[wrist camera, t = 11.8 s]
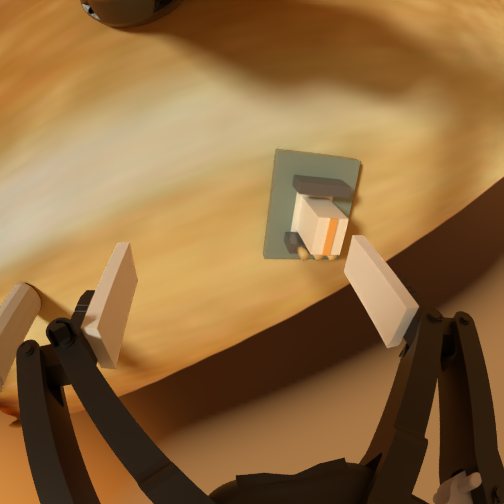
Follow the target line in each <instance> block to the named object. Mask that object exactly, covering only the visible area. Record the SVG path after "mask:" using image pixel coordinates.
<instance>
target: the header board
mask: <svg viewBox="0 0 504 504" xmlns="http://www.w3.org/2000/svg"><path fill="white" fill-rule="evenodd" d="M360 162H361V161H359V160H357V159H353V158H347V157H340V156H333V155H325V154H318V153H309V152H301V151H291V150H281V149H276V151H275V159H274V168H273V176H272V184H271V193H270V201H269V209H268V217H267V225H266V233H265V241H264V249H263V256H264V259H301V260H303V261H305V260H307V259H315V260H317V261H319V260H321V259H329V260H330V261H333V260H335V259H338V257H339V255H330V256H324V255H312V254H310V252H309V251H308V249H307V247H306V245H305V244H304V242H303V240H302V238H301V237H300V235H299V233H298V231H297V230H296V228H297V223H298V217H299V211H300V205H301V199H302V197H314V198H326V199H329V200H330V201H331V202H332V203H333V204H334V205H335V206H336V207H337V208H338V209H339V210H340V211H341V212H342V213H343V214H344V215H345V216H346V217H347V218H349V214H350V209H351V205H352V201H353V196H354V192H355V187H356V182H357V177H358V172H359V167H360Z"/></svg>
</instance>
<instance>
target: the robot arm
mask: <svg viewBox="0 0 504 504" xmlns="http://www.w3.org/2000/svg"><path fill="white" fill-rule="evenodd" d="M80 1H81V4H82V6H83V8H84V10H85V11H86V12H87V14H88V15H89V16H91V17H92V18H93V19H95V20H97V21H99V22H100V23H102V24H105V25H107V26H111V27H118V28H127V27H135V26H140V25H144V24H147V23H150V22H153V21H155V20H157V19H159V18H161V17H163V16H165V15H166V14H168V13H169V12H171V11H172V10H174V9H175V8H176V7H177V6H178V5H179V4H180V3H182V1H183V0H80ZM344 273H345V275H346V277H347V278H348V280H349V282H350V283H351V285H352V287H353V288H354V290H355V292H356V293H357V295H358V297H359V298H360V300H361V302H362V304H363V305H364V307H365V309H366V311H367V312H368V314H369V316H370V318H371V319H372V321H373V323H374V325H375V326H376V328H377V330H378V332H379V334H380V336H381V337H382V339H383V341H384V343H385V345H386V347H387V348H389V347H394V346H398V345H399V344H400V343H401V341H402V339H403V337H404V339H405V341H406V344H405V346H404V348H403V350H402V351H401V353H400V355H399V357H401V359H400V363H399V366H398V370H397V373H396V376H395V380H394V383H393V386H392V389H391V392H390V395H389V398H388V400H387V403H386V406H385V409H384V412H383V414H382V417H381V420H380V422H379V425H378V427H377V429H376V432H375V434H374V437H373V439H372V442H371V444H370V446H369V448H368V450H367V452H366V454H365V455H364V457H363V458H362V460H361V461H360V463H359V464H356V463H348V462H346V461H345V458H341V459H337V460H333V461H329V462H325V463H320V464H318V465H316V466H313V467H311V468H309V469H307V470H305V471H302V472H300V473H298V474H295V475H283V474H271V473H258V474H248V475H236V480H234V481H231V482H228V483H226V484H224V485H222V486H220V487H218V488H217V489H216V490H214V491H213V492H212V493H211V494H210V495H209V496H207V495H206V494H205V493H204V492H203V491H202V490H201V489H199V488H198V487H197V486H196V485H195V484H194V483H193V482H192V481H191V480H190V479H189V478H188V477H187V476H186V475H185V474H184V473H183V472H182V471H181V470H180V469H179V468H178V467H177V466H176V465H175V464H174V463H173V462H171V461H170V460H169V459H168V458H167V457H166V456H165V455H164V453H163V452H162V451H161V450H160V449H159V448H158V447H157V446H156V445H155V443H154V442H153V441H152V440H151V439H150V438H149V437H148V435H147V434H146V433H145V432H144V431H143V429H142V428H141V427H140V426H139V424H138V423H137V422H136V421H135V419H134V418H133V417H132V416H131V414H130V413H129V412H128V410H127V409H126V408H125V406H124V405H123V404H122V402H121V401H120V400H119V398H118V397H117V396H116V394H115V393H114V391H113V390H112V388H111V387H110V386H109V384H108V383H107V381H106V380H105V378H104V377H103V375H102V374H101V372H100V371H99V369H98V368H97V366H96V365H97V361H98V363H99V365H100V366H101V368H108V369H116V367H117V362H118V357H119V353H120V348H121V344H122V339H123V335H124V331H125V327H126V323H127V319H128V315H129V311H130V307H131V303H132V300H133V296H134V292H135V289H136V285H137V282H138V279H137V275H136V270H135V266H134V261H133V256H132V251H131V246H130V242H117V244H116V246H115V248H114V250H113V252H112V254H111V257H110V259H109V261H108V263H107V265H106V267H105V270H104V272H103V274H102V276H101V279H100V281H99V283H98V286H97V288H96V290H87V291H86V292H85V293H84V294H83V295H82V296H81V297H80V299H79V301H78V303H77V306H76V308H75V312H74V313H73V315H72V317H71V320H69V319H67V318H58V319H55V320H53V321H52V322H51V323H50V324H49V325H48V326H47V329H46V336H47V337H48V339H49V341H50V343H51V344H49V345H45V346H39V344H38V343H37V342H36V341H35V340H27V341H25V342H23V343H22V344H21V345H20V346H19V347H18V349H17V353H16V365H17V385H18V398H19V408H20V416H21V423H22V429H23V436H24V441H25V446H26V451H27V456H28V461H29V465H30V469H31V473H32V477H33V480H34V484H35V488H36V491H37V494H38V497H39V501H40V503H41V504H101V503H100V501H99V499H98V497H97V495H96V492H95V490H94V487H93V485H92V482H91V480H90V477H89V475H88V472H87V469H86V466H85V464H84V461H83V458H82V455H81V452H80V449H79V446H78V443H77V440H76V436H75V433H74V429H73V426H72V422H71V419H70V414H69V410H68V406H67V402H66V397H65V392H64V388H63V386H65V385H70V384H72V386H73V388H74V390H75V392H76V394H77V395H78V397H79V399H80V401H81V402H82V404H83V406H84V408H85V409H86V411H87V412H88V414H89V416H90V417H91V419H92V421H93V422H94V424H95V425H96V427H97V429H98V430H99V432H100V433H101V435H102V436H103V438H104V439H105V440H106V442H107V443H108V445H109V446H110V448H111V449H112V450H113V452H114V453H115V455H116V456H117V457H118V458H119V460H120V461H121V462H122V464H123V465H124V466H125V468H126V469H127V470H128V471H129V473H130V474H131V475H132V476H133V478H134V479H135V480H136V482H137V483H138V486H139V487H140V488H141V490H142V491H143V492H144V493H145V494H146V496H147V497H148V498H149V499H150V500H151V501H152V502H153V503H154V504H429V503H427V502H425V501H423V500H422V499H420V498H418V497H416V496H415V495H413V494H412V491H413V489H414V485H415V483H416V481H417V478H418V475H419V472H420V469H421V466H422V463H423V460H424V456H425V453H426V449H427V446H428V439H426V438H425V432H426V428H427V424H428V420H429V416H430V411H431V407H432V402H433V398H434V393H435V388H436V382H437V377H438V390H439V408H440V456H439V457H440V458H439V479H440V486H439V488H438V490H437V493H436V494H435V495H434V497H433V502H434V503H435V504H504V468H503V464H502V461H501V458H500V455H499V452H498V449H497V448H498V446H497V434H496V424H495V416H494V408H493V401H492V395H491V389H490V384H489V379H488V374H487V369H486V365H485V360H484V356H483V352H482V348H481V345H480V341H479V337H478V333H477V330H476V327H475V323H474V321H473V319H472V317H471V316H470V315H469V314H467V313H465V312H461V311H460V312H457V313H456V314H455V316H454V318H444V317H443V316H442V314H441V313H440V312H439V311H437V310H435V309H432V308H427V307H426V305H425V304H424V302H423V301H422V300H421V298H420V297H419V296H418V294H417V293H415V291H414V289H413V288H412V287H411V285H410V284H409V283H408V281H407V280H405V279H404V278H403V277H401V276H400V275H398V276H396V275H395V274H394V272H393V271H392V270H391V268H390V267H389V266H388V265H387V263H386V262H385V261H384V260H383V258H382V257H381V256H380V255H379V253H378V252H377V251H376V250H375V249H374V247H373V246H372V245H371V244H370V243H369V241H368V240H367V239H366V238H365V237H364V235H352V240H351V244H350V248H349V252H348V257H347V261H346V265H345V269H344ZM401 355H402V356H401Z"/></svg>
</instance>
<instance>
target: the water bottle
mask: <svg viewBox="0 0 504 504" xmlns="http://www.w3.org/2000/svg"><path fill="white" fill-rule="evenodd" d="M40 309H41V300H40V297H39V295H38V293H37V292H36V291H35V290H34V289H33V288H32V287H31V286H29V285H27V284H25V283H17V284H16V285H15V286H14V287H13V289H12V290H11V291H10V293H9V294H8V296H7V297H6V299H5V300H4V301H3V303H2V304H1V306H0V392H2V388H3V387H2V385H3V384H4V382H5V380H6V378H7V375H8V373H9V371H10V368H11V366H12V364H13V362H14V359H15V357H16V353H17V349H18V347H19V346H20V345H21V344H22V343H23V341H24V339H25V337H26V335H27V333H28V331H29V329H30V327H31V325H32V323H33V321H34V319H35V318H36V316H37V314H38V312H39V310H40Z"/></svg>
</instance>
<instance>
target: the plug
mask: <svg viewBox="0 0 504 504" xmlns="http://www.w3.org/2000/svg"><path fill="white" fill-rule="evenodd" d="M348 220H349V219H348V218H347V217H346V216H345V215H344V214H343V213H342V212H341V211H340V210H339V209H338V208H337V207H336V206H335V205H334V204H333V203H332V202H331V201H330V200H329V199H326V198H314V197H302V199H301V205H300V211H299V217H298V223H297V228H296V230H297V231H298V233H299V235H300V237H301V238H302V240H303V242H304V244H305V245H306V247H307V249H308V251H309V252H310V254H312V255H324V256H330V255H340V252H341V248H342V244H343V240H344V236H345V232H346V228H347V224H348Z"/></svg>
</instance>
